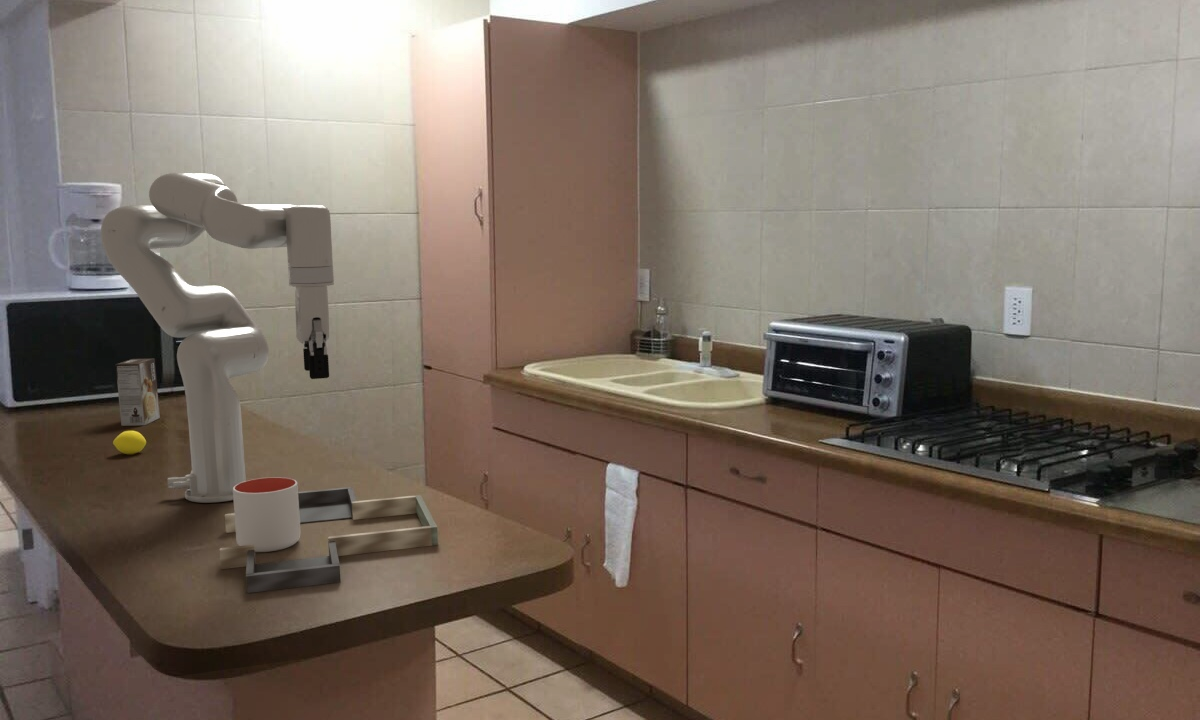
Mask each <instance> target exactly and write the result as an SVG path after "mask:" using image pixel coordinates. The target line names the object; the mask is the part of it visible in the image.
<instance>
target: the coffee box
mask: <svg viewBox="0 0 1200 720" xmlns="http://www.w3.org/2000/svg"><path fill="white" fill-rule="evenodd" d="M115 372H116V383H117V392H118V394H117V395H118V403H119V404H118V405H119V415H120V425H121V426H124V427H125V426H126V427H127V426H128V427H129V426H132V427H133V426H147V425H148V424H151V423H152V422H154V421H157V420H158V419H160V418H161V415H160V406H159V405H160V404H159V393H158V383H157V382H158V381H157V371H156V359H155V358H131V359H129V360H125V361H122V362H118V363H116V364H115Z"/></svg>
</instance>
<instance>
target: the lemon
mask: <svg viewBox="0 0 1200 720" xmlns="http://www.w3.org/2000/svg"><path fill="white" fill-rule="evenodd" d="M112 444H113V446H114V447H115V448H116V450H118V452H120V453H122V454H124V455H125V454H126V455H135V454H138V453H141V451H142V450H143V449H144V448H145V446H146V444H147V440H146V439H145V437H144V436H143V434H141V433H140V432H139V431H136V430H125V431H123V432H121V433H120V434H119V435H117V436H116V437H115V438H114V440H113V441H112Z"/></svg>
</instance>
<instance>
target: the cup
mask: <svg viewBox="0 0 1200 720" xmlns="http://www.w3.org/2000/svg"><path fill="white" fill-rule="evenodd" d="M298 483H299V482H298V481H297V480H296V479H293V478H290V477H280V476H278V477H277V476H275V477H274V476H273V477H261V478H254V479H250V480H246V481H245V482H242V483H239V484H237V485H235V486H234V487H233V500H232V501H233V513H234V515H235V528H236V532H235V539H236V544H237V546H245V545H254V547H255V553H267V552H277V551H281V550H285V549H287V548H289V547H292V546H294V545H295V544H296V543H297V542H298V541H299V539H300V537H301V534H302V533H301V524H300V515H299V499H298V492H299V486H298V485H299V484H298Z"/></svg>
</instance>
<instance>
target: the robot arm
mask: <svg viewBox="0 0 1200 720" xmlns="http://www.w3.org/2000/svg"><path fill="white" fill-rule="evenodd" d="M148 191H149V192H148V197H149V201H150V204H130V205H129V204H128V205H124V206H120V207H116V208H114V209H112V210H111V211H109V212H108V213H106V215H105V216H104V218H103V219H102V222H101V226H100V237H101V244H102V248H103V250H104V253H105V256H106V257H107V259H108V261H109V263H110V265H111V266H113V269H115V271H116V272H117V273H118V274H119V275H120V276H121V277H122V278H123V280H125V281H126V282H127V284H128V285H130V287H131V288H132V290H133V291H134V292H135V294H136V295H137V296H138V298H139V299H140V301H141V302H142V304H143V305H144V307H145V308H146V309H147V310H148V312H149V313H150V315H151V317H153V319H154V320H155V321H156V323H157V324H158V326H159V327H160V328H161V329H162V331H164V333H165V334H167V335H168V336H170V337H173V338H176V339H177V338H183V339H182V340H181V342H180V344H179V346H178V347H177V351H176V352H177V353H176V360H177V366H178V368H179V372H180V375H181V379H182V384H183V388H184V394H185V400H186V412H187V413H186V415H187V422H188V425H187V426H188V435H189V450H190V460H191V461H190V462H191V470H190V474H185V475H184V476H180V477H179V476H172V477H167V488H169V489H171V488H173V490H178V489H185V488H186V490H185V492H184V497H185V499H186V500H187V501H189V502H194V503H201V504H203V503H205V504H206V503H207V504H208V503H211V504H214V503H222V502H223V503H224V502H229V501H233V487H234V486H235V485H237V484H239V483H242V482H245V481H247V479H246V466H245V462H246V461H245V451H244V437H243V424H242V423H243V421H242V410H241V402H240V397H239V396H238V394H237V391H236V390H235V388H234V387H233V384H232V383H231V381H230V380H229V379H230V378H234V377H240V376H244V375H250V374H253V373H256V372H259V371H260V370H262V369H263V368H265V366H266V365H267V364H268V363H267V362H268V360H269V356H270V349H269V345H268V341H267V339H266V336H265V335H264V333H263V332H262V330H261V329H260V327H259V326H258V325H257V323H256V322H255V320H254V319H253V318H252V316H251V315H250V314H249V313H248V310H246V308H245V307H244V306H243V305H242V303H241V302H240V300H239V299H238V297H236V296H235V294H234V293H233V292H232V291H230V290H229V289H228V288H225V287H223V286H221V285H217V284H215V285H213V284H210V285H208V284H206V285H197V286H196V285H192V284H189V283H188V282H186V281H185V279H184V278H183V277H182V275H180V273H179V271H178V270H177V269H176V267H174V265H173V264H171V263H170V262H169V261H168V260H166V259H165V258H164V257H162V256H160V255H159V254H157V253H156V252H154V251H153V249H155V250H156V249H170V248H181V247H185V246H187V245H190V244H191V243H192V242H194V241H195V240H196V239H197V238H199V237H200V236H201V235H202V234H203V233H205V231H206V232H207V234H208V235H209V237H211V238H212V239H213V240H216V241H218V242H221V243H223V244H227V245H231V246H234V247H238V248H243V249H248V250H254V249H269V248H271V249H272V248H286V249H287V253H286V254H287V269H288V270H287V272H288V283H289V284H288V285H289V287H295V288H294V293H295V294H294V303H295V305H294V306H295V309H294V310H295V332H296V339H297V341H298V342H299V343H301V344H302V345H303V347H304V348H302V350H303V352H302V353H303V366H304V367H303V368H304V371H306V372H308V371H309V378H310V379H311V380H317V379H318V380H319V379H328V378H330V368H329V367H330V365H329V355H328V348H327V342H329V341H330V314H329V313H330V311H329V310H330V309H329V294H328V286H334V284H335V283H334V280H335V279H334V277H335V276H334V264H333V262H334V261H333V247H332V246H333V245H332V227H331V226H332V223H331V221H332V220H331V213H330V209H328V207H326V206H324V205H320V204H319V205H318V204H317V205H316V204H310V205H309V204H303V205H294V204H286V203H285V204H284V203H283V204H279V203H278V204H272V203H268V204H266V203H265V204H261V203H260V204H247V203H246V204H245V203H239V202H238V198H237V196H236V194H235V192H234V191H233V190H232V189H230V188H229V187H228V186H226V184H225V182H224V181H223V180H222V179H221V178H219V177H218V176H216V175H213V174H211V173H205V172H203V173H199V172H170V173H165V174H163V175H160V176H159V177H157V178H156V179H155V180H154V181H153V182H152V183H151V185H150V187H149V190H148Z"/></svg>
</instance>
